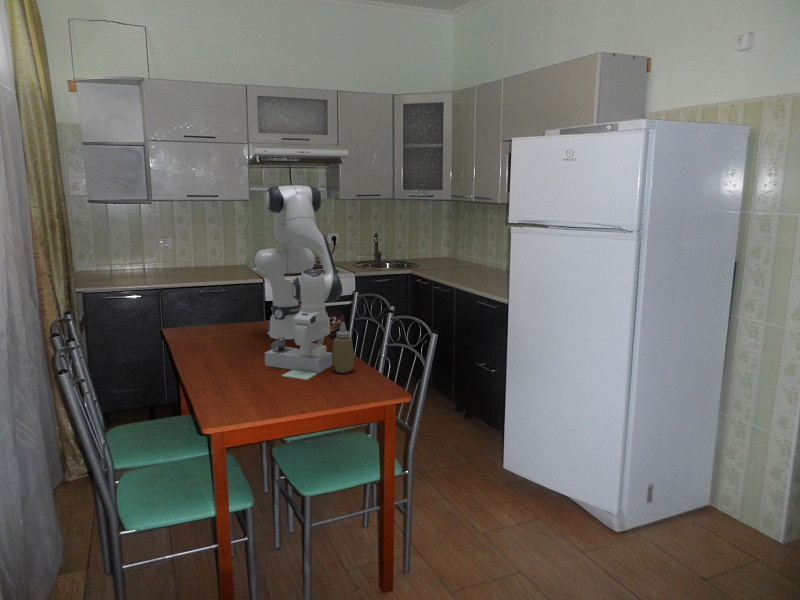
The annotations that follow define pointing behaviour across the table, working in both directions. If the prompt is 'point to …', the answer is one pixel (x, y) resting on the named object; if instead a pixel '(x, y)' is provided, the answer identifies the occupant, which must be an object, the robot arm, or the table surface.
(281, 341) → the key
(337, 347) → the squeeze bottle
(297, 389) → the table surface
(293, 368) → the block
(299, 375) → the pad
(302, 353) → the cover
